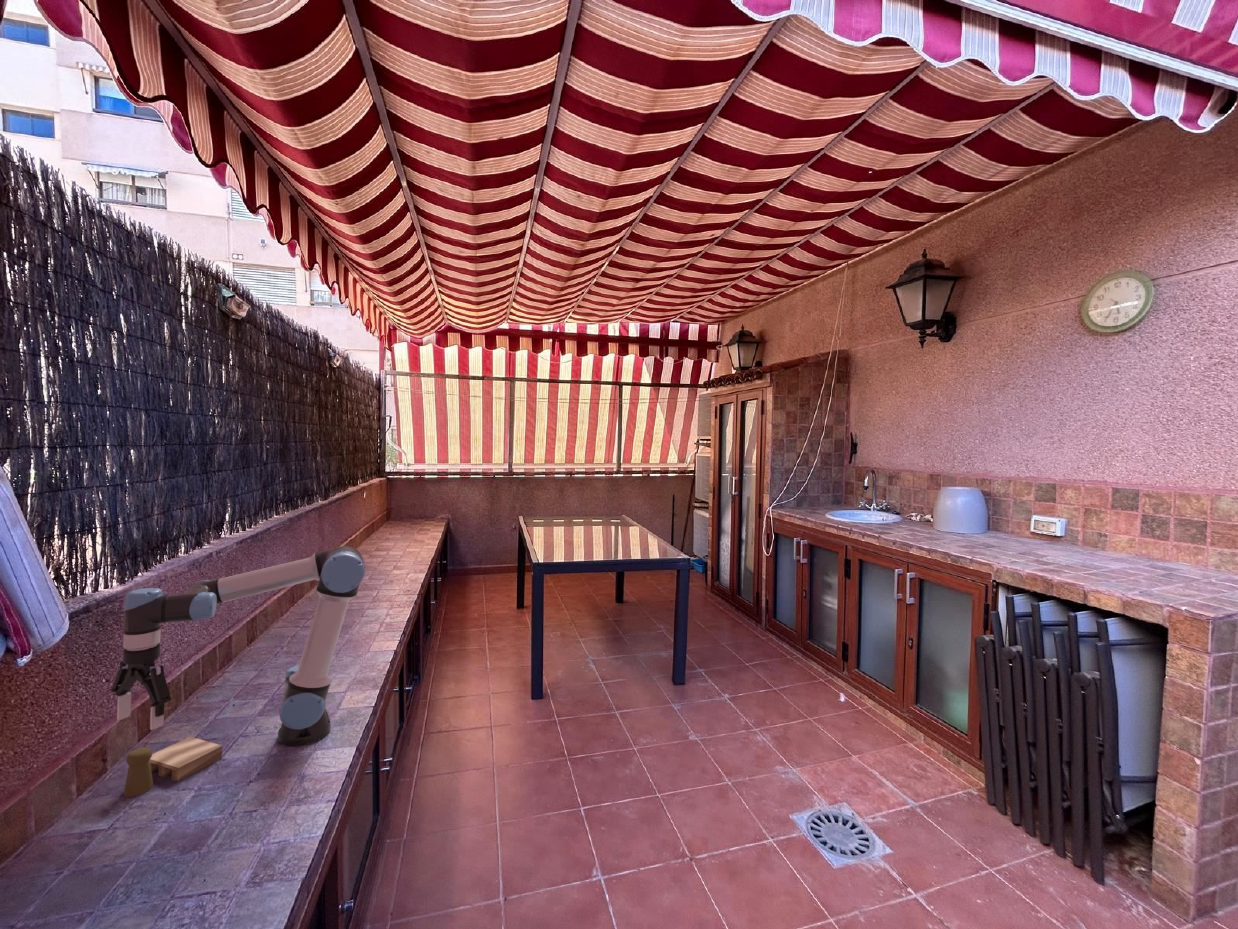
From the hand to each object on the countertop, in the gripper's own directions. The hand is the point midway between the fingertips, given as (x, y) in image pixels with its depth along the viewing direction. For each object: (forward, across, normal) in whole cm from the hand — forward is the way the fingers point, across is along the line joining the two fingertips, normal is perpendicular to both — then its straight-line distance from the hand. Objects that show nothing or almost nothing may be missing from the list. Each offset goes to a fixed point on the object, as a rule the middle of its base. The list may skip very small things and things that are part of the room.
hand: (140, 722), depth 141 cm
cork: (+19, 0, 0) cm, 19 cm away
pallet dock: (+19, +1, -12) cm, 22 cm away
